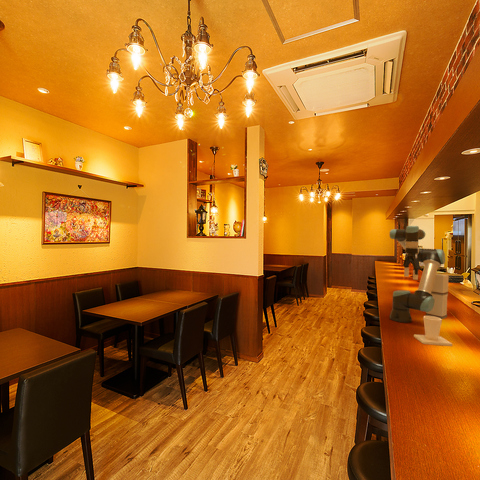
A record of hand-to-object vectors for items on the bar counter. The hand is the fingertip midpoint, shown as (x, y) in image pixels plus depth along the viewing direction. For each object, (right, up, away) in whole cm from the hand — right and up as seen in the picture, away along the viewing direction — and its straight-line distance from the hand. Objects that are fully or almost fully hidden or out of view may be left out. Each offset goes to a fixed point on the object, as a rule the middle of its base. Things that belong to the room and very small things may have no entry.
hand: (410, 278), depth 190 cm
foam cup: (+1, -36, -19) cm, 41 cm away
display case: (+44, -37, +36) cm, 68 cm away
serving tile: (+1, -37, -20) cm, 42 cm away
